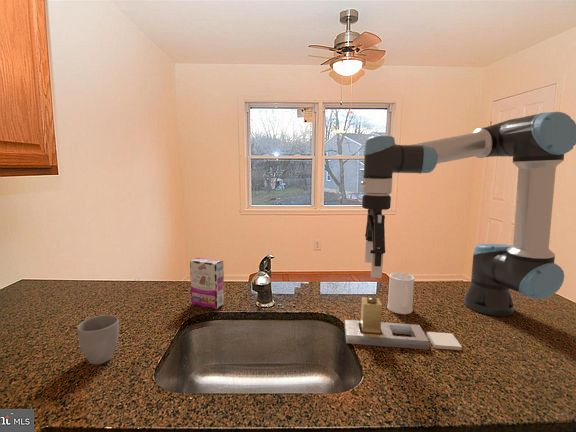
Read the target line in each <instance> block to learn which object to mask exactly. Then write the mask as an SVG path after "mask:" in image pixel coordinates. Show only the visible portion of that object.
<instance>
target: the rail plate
mask: <svg viewBox="0 0 576 432" xmlns="http://www.w3.org/2000/svg"><path fill="white" fill-rule="evenodd" d="M360 324H361V320H357V319H356V320H355V319H344V334H345V342H346V343H345V344H350V345H352V344H353V345H364V346H377V347H390V348H403V349H417V350H429V346H430V339H429V338H428V336H427V334H426V333H425V332H424V330H423V328H422V327H421V325H420V324H415V323H414V324H412V323H411V324H409V323H399V322H398V323H397V322H383V321H381V332H380V335H375V334H362V333H360ZM394 334H398V335H399V334H400V335H399V336H398V335H394ZM401 334H402V335H410V336H401Z"/></svg>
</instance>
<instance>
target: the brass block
mask: <svg viewBox="0 0 576 432" xmlns="http://www.w3.org/2000/svg"><path fill="white" fill-rule="evenodd" d="M360 308H361V309H360V321H361V324H360V333H362V334H375V335H380V332H381V322H382V316H383V315H382V312H383V304H382V302H381V300H380V297H376V296H375V297H374V296H367V297H365V296H361V306H360Z"/></svg>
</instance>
